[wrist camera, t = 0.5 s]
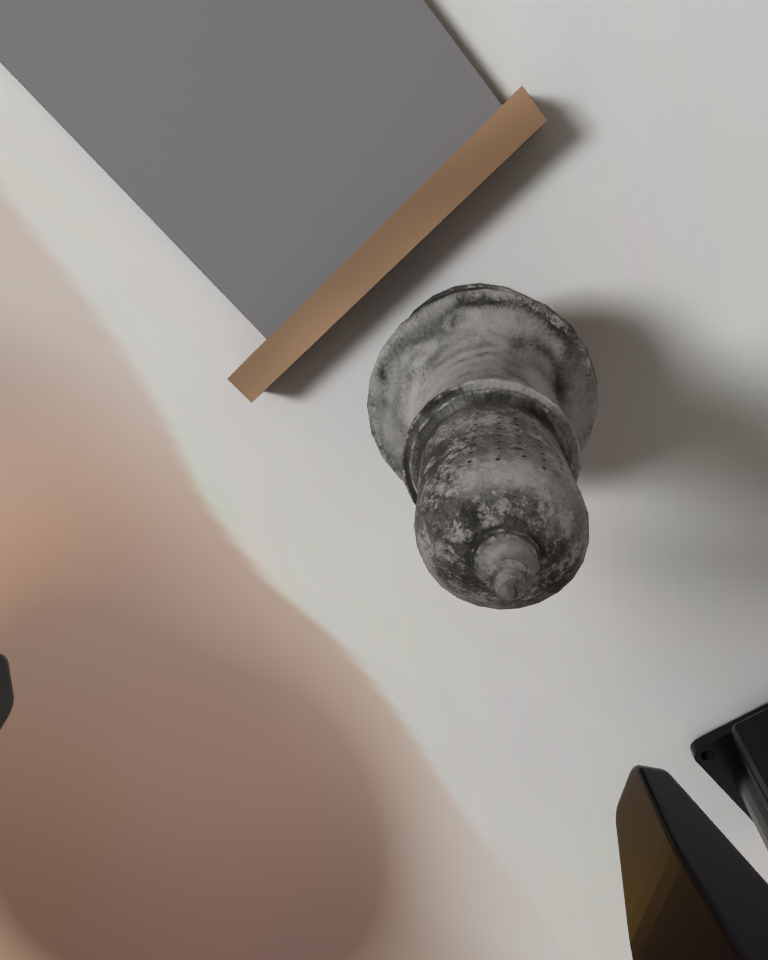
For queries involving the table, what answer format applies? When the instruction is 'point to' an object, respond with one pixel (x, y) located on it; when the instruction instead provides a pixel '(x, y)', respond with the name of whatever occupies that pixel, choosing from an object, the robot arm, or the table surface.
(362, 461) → the table surface
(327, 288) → the kerb
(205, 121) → the mat
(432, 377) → the stone baluster finial
